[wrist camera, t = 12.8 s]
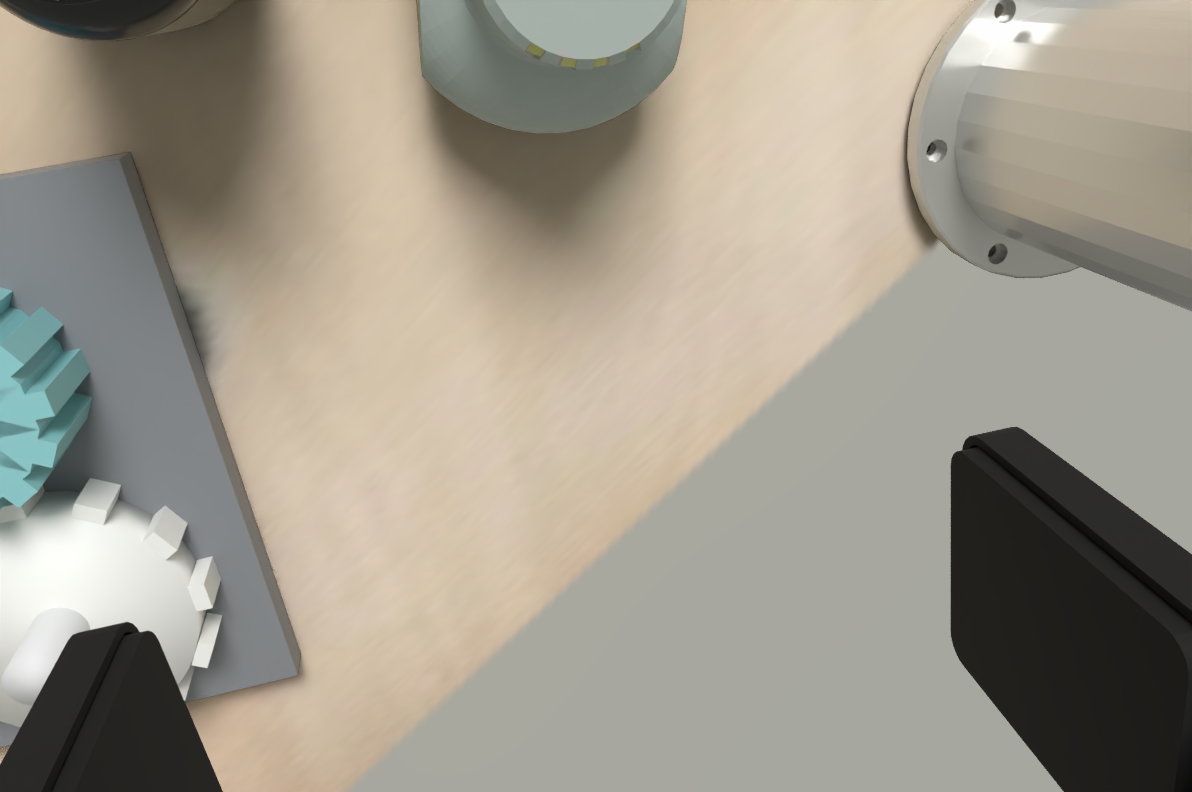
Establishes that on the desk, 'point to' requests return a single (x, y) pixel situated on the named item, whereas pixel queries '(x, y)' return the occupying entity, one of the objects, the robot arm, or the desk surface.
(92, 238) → the gear board
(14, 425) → the gear
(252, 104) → the desk surface
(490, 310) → the desk surface
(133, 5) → the supplement bottle
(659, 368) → the desk surface
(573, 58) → the air freshener
